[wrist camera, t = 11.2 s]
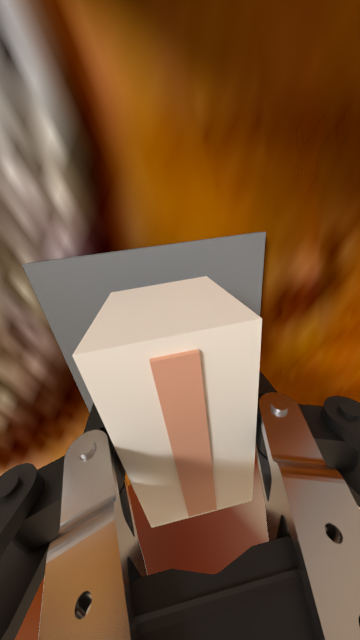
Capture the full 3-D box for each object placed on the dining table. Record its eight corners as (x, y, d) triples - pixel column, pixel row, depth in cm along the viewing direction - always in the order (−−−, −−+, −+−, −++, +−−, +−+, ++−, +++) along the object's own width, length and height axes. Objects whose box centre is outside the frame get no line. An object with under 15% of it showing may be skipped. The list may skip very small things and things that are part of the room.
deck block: (110, 292, 9) (69, 359, 4) (206, 276, 9) (265, 321, 5) (150, 422, 13) (151, 532, 8) (216, 407, 13) (254, 505, 8)
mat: (93, 408, 16) (91, 416, 16) (30, 262, 11) (22, 264, 10) (251, 376, 18) (255, 382, 17) (258, 232, 12) (265, 232, 12)
